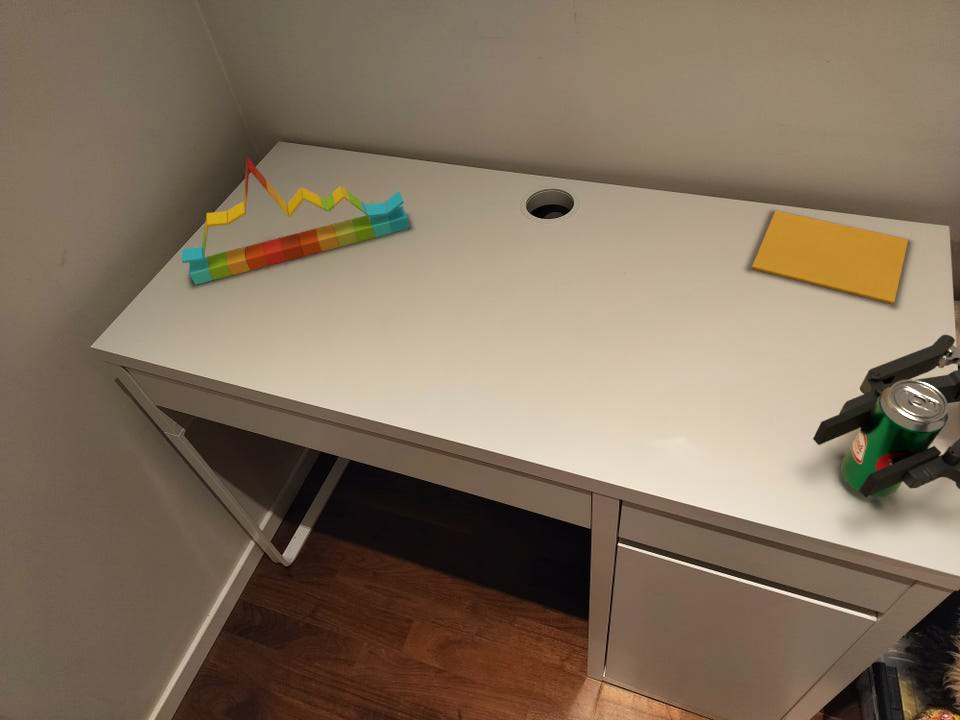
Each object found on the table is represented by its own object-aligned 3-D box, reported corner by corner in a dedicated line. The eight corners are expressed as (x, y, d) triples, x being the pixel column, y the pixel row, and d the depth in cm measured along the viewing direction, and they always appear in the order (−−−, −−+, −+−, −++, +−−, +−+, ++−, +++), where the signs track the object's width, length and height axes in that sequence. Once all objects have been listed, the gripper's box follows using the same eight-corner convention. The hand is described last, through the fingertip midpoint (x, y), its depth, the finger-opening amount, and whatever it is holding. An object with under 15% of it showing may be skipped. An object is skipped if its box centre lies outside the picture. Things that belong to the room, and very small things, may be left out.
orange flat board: (907, 241, 84) (908, 239, 84) (893, 304, 78) (894, 302, 77) (774, 212, 90) (775, 210, 90) (751, 268, 84) (752, 266, 83)
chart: (404, 215, 98) (383, 121, 86) (409, 228, 96) (388, 133, 84) (195, 270, 94) (144, 179, 83) (195, 285, 92) (143, 193, 81)
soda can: (848, 445, 66) (893, 366, 57) (904, 469, 64) (960, 391, 54) (831, 483, 63) (875, 408, 54) (889, 509, 61) (945, 435, 52)
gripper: (1125, 467, 59) (906, 570, 55) (956, 330, 70) (766, 408, 66) (1185, 416, 53) (946, 527, 49) (991, 277, 64) (785, 358, 60)
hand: (843, 458), depth 58 cm, fingers closed on soda can, 5 cm apart
